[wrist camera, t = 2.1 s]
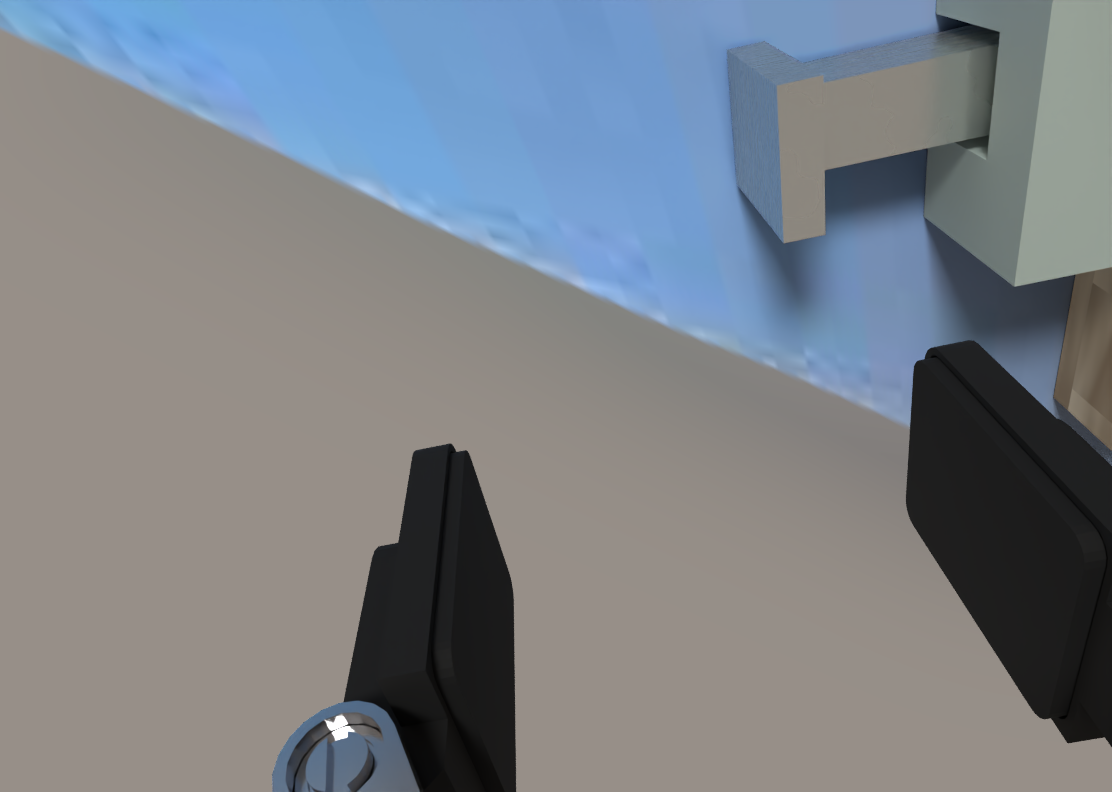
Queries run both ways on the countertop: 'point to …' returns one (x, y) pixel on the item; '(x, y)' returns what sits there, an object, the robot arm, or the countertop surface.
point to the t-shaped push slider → (850, 114)
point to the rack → (1089, 355)
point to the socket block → (1034, 144)
